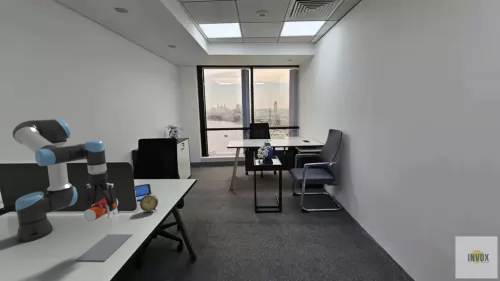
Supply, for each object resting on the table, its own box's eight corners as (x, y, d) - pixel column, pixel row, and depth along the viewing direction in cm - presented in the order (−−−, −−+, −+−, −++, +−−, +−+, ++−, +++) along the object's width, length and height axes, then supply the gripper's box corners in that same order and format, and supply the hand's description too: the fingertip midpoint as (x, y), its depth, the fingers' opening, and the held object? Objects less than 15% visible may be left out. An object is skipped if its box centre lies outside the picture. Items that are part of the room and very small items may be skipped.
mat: (75, 261, 104) (75, 260, 104) (107, 235, 126) (107, 234, 126) (104, 261, 103) (104, 260, 103) (132, 235, 125) (132, 234, 125)
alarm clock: (140, 213, 152) (138, 190, 150) (143, 210, 157) (141, 188, 155) (157, 212, 153) (155, 189, 151) (159, 209, 159) (157, 186, 157)
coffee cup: (97, 207, 103) (118, 195, 118) (80, 206, 104) (103, 194, 119) (99, 224, 105) (119, 210, 119) (82, 223, 105) (104, 209, 120)
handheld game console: (131, 203, 171) (130, 191, 170) (129, 198, 182) (128, 187, 181) (153, 198, 179) (152, 187, 178) (150, 193, 190) (149, 183, 189)
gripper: (71, 174, 107) (77, 220, 110) (112, 174, 105) (117, 220, 108) (84, 170, 114) (89, 213, 117) (122, 170, 113) (126, 213, 116)
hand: (103, 217), depth 113 cm, fingers closed on coffee cup, 7 cm apart
